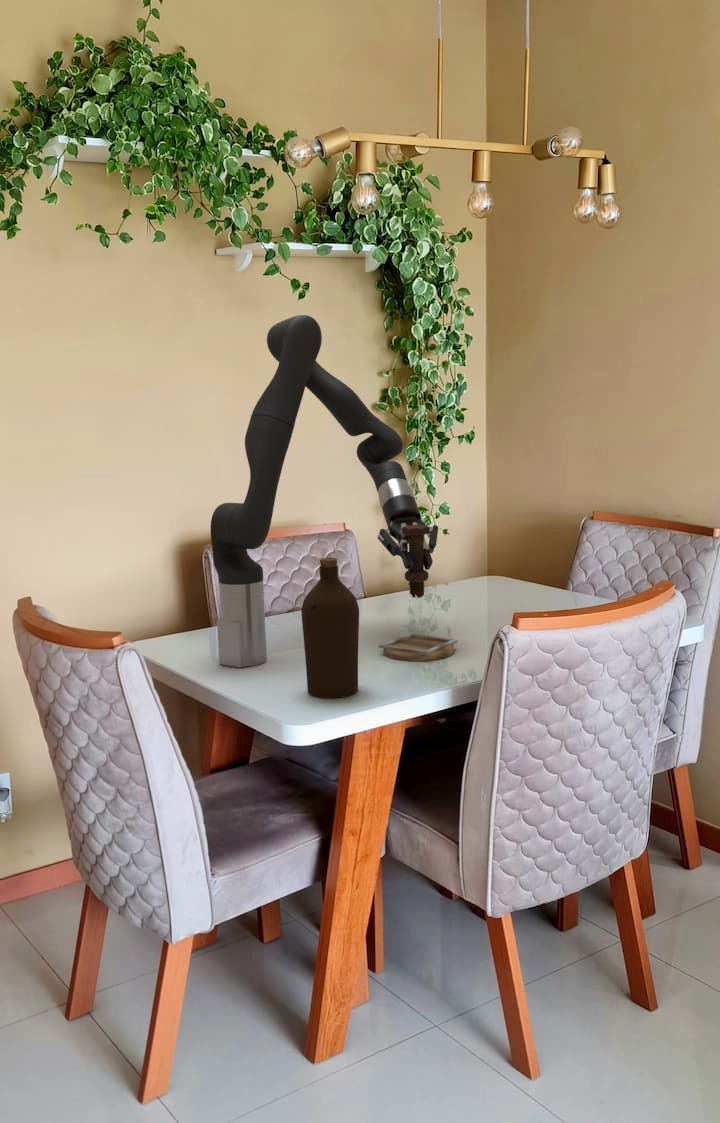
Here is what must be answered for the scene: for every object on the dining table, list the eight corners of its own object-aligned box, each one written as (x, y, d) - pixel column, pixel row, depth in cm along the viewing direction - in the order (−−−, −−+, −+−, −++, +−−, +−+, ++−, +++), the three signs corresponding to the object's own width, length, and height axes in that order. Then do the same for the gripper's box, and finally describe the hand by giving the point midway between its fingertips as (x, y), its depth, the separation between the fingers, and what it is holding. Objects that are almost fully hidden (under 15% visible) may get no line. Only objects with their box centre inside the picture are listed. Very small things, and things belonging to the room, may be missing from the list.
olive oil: (359, 699, 179) (355, 563, 175) (300, 699, 179) (295, 564, 175) (363, 682, 189) (359, 553, 185) (308, 683, 190) (303, 554, 186)
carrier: (429, 664, 200) (429, 654, 200) (369, 655, 209) (369, 645, 209) (466, 648, 212) (466, 639, 212) (408, 640, 221) (408, 631, 221)
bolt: (431, 594, 211) (430, 524, 209) (430, 599, 206) (429, 527, 204) (403, 594, 212) (402, 524, 209) (402, 599, 207) (401, 528, 204)
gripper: (371, 495, 210) (392, 560, 201) (432, 491, 215) (456, 555, 205) (364, 517, 216) (384, 581, 207) (424, 513, 220) (446, 576, 211)
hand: (420, 567), depth 206 cm, fingers closed on bolt, 3 cm apart
